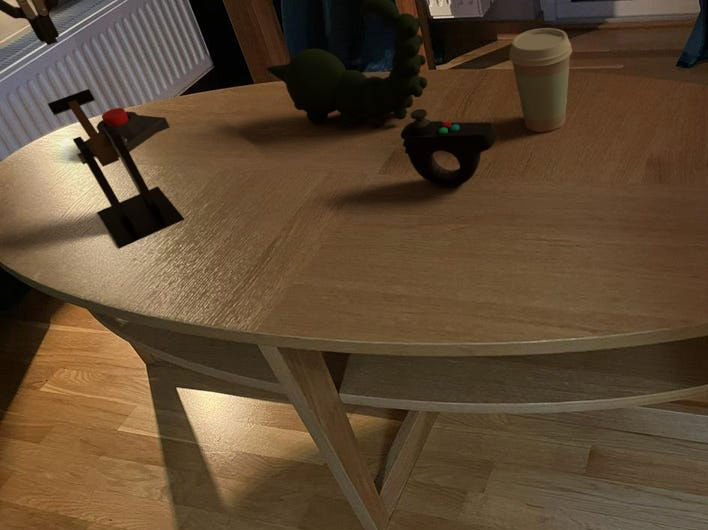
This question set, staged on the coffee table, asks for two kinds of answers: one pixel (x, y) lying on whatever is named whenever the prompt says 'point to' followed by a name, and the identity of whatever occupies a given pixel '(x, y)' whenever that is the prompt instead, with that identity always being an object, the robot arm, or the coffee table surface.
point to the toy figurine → (358, 76)
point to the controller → (446, 147)
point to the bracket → (136, 212)
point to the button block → (134, 129)
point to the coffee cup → (542, 76)
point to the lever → (86, 125)
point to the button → (115, 117)
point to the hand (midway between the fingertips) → (51, 42)
